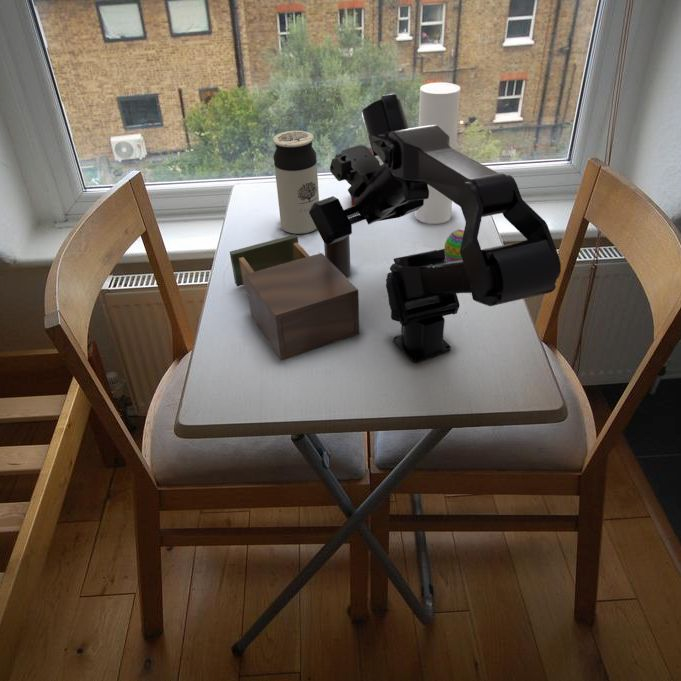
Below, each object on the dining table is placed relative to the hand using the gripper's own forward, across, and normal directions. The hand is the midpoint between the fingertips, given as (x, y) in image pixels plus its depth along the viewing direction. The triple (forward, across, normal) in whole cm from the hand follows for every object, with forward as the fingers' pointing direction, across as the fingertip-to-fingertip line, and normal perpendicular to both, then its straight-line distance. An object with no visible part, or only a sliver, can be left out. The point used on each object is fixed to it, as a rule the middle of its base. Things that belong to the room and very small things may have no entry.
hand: (346, 227), depth 102 cm
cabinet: (+3, +14, +11) cm, 18 cm away
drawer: (+10, +12, +3) cm, 15 cm away
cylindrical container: (+13, -28, +1) cm, 31 cm away
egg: (+2, -19, +12) cm, 23 cm away
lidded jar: (+9, 0, +5) cm, 11 cm away
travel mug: (+23, -5, -9) cm, 25 cm away
